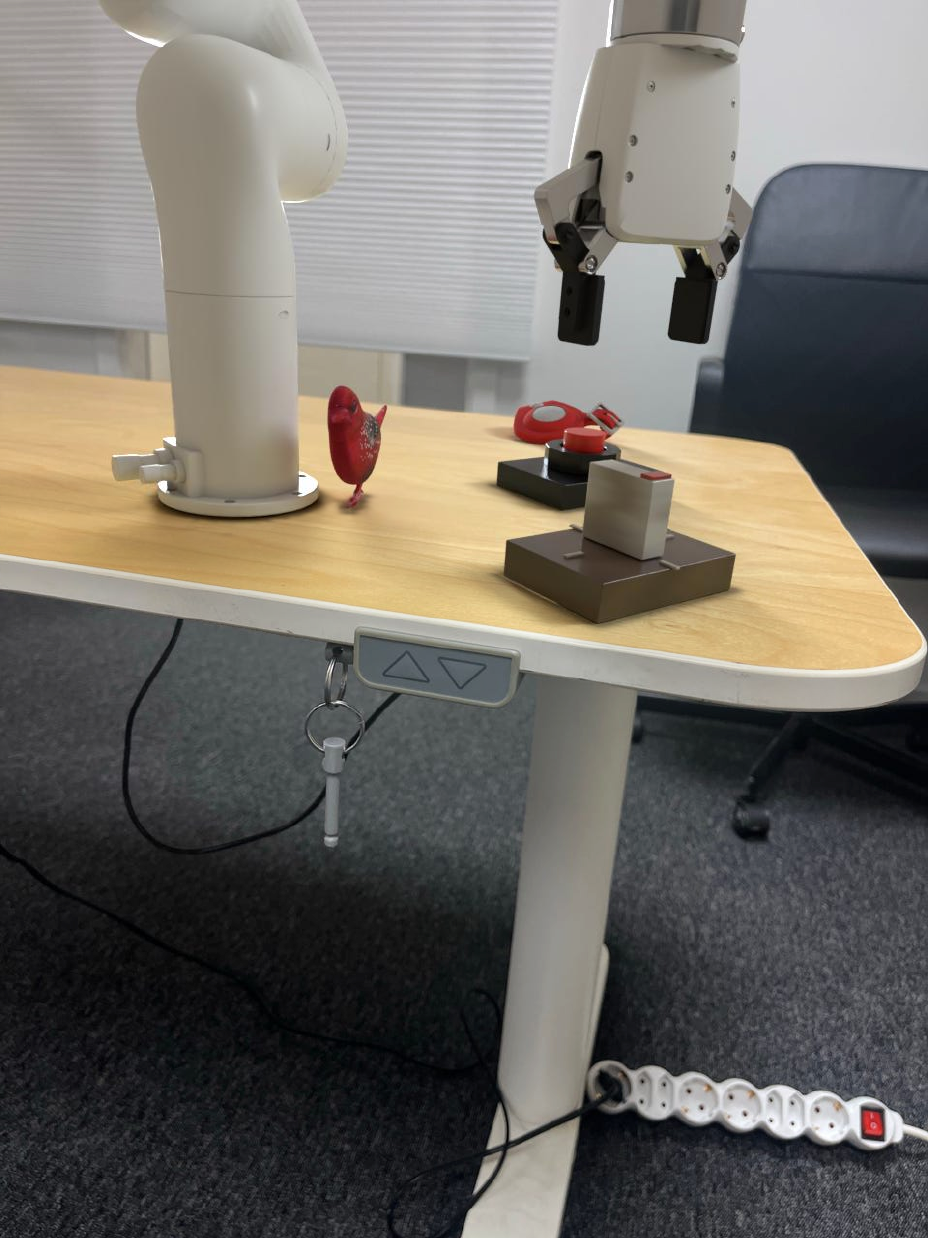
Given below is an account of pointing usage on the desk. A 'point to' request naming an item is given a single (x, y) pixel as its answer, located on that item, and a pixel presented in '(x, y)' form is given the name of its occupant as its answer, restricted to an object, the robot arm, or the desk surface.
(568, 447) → the button
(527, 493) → the button box
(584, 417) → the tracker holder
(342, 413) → the decorative bird figurine
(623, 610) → the brown flat block
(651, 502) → the grey rectangular block
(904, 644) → the desk surface
